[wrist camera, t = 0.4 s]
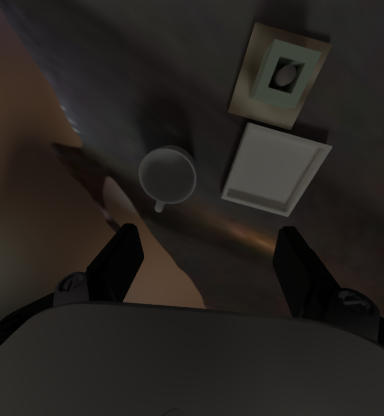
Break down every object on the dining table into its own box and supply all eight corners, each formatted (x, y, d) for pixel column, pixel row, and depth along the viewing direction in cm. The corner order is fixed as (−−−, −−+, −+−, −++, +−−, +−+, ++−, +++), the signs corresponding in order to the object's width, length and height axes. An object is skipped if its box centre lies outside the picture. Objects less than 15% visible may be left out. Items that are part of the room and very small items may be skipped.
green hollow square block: (265, 51, 27) (274, 39, 22) (304, 62, 27) (321, 52, 22) (248, 98, 30) (254, 95, 25) (283, 108, 30) (295, 107, 25)
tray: (247, 122, 32) (249, 122, 30) (325, 144, 32) (332, 146, 31) (221, 194, 40) (221, 198, 38) (284, 212, 40) (288, 216, 38)
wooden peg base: (254, 25, 26) (265, -1, 20) (328, 46, 26) (360, 27, 21) (227, 112, 32) (230, 111, 26) (288, 129, 32) (304, 132, 26)
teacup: (165, 131, 35) (152, 135, 28) (209, 160, 37) (207, 170, 30) (140, 184, 41) (124, 198, 34) (178, 207, 43) (171, 224, 36)
